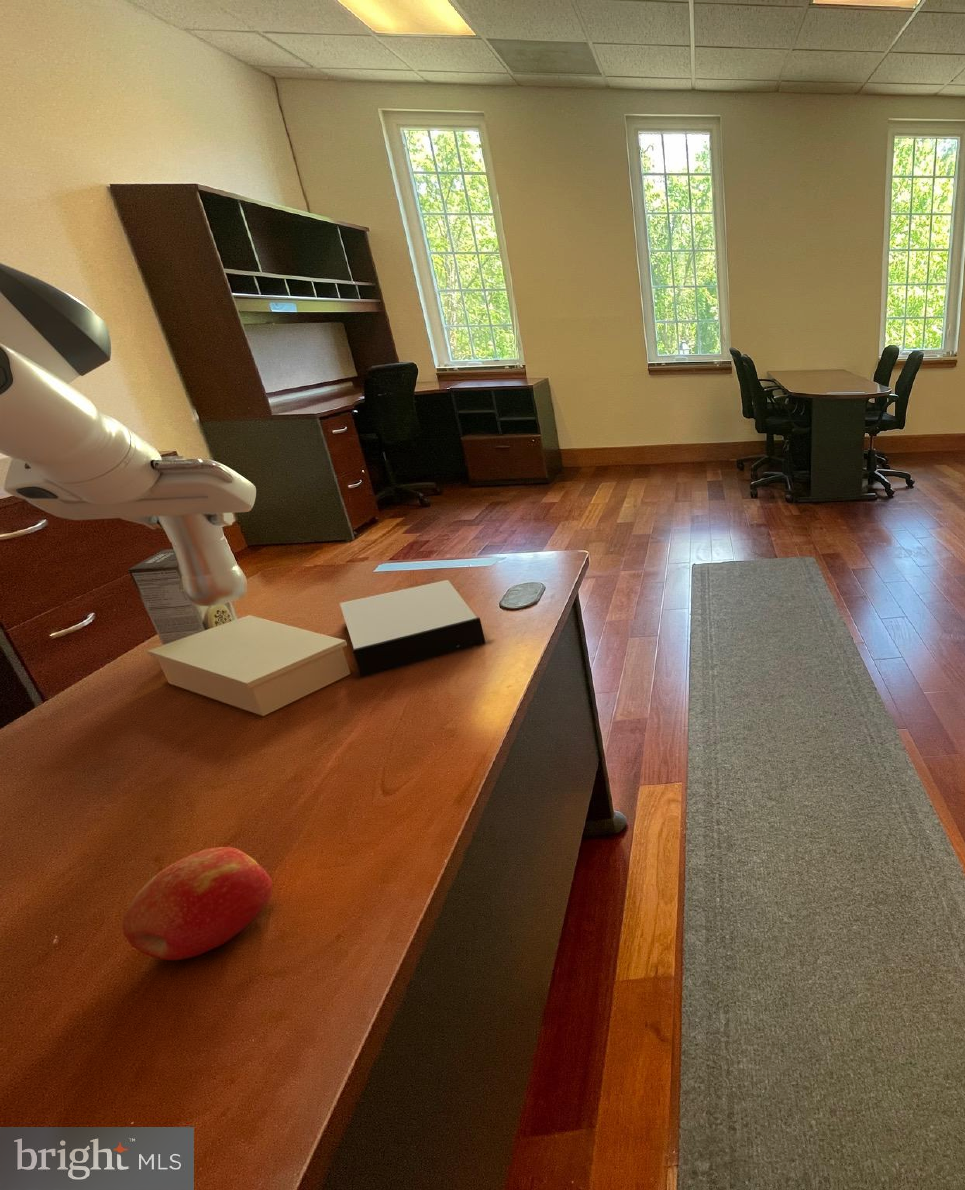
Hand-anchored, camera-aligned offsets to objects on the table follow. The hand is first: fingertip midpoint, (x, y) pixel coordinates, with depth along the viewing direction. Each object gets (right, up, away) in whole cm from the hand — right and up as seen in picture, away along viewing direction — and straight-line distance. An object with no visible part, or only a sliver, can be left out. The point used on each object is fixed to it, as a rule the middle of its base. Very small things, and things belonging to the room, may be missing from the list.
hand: (194, 522), depth 81 cm
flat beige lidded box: (0, -23, +10) cm, 25 cm away
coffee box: (-16, -19, +19) cm, 31 cm away
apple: (+30, -40, -28) cm, 57 cm away
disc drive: (+15, -17, +24) cm, 33 cm away
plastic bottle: (0, -11, +4) cm, 12 cm away
